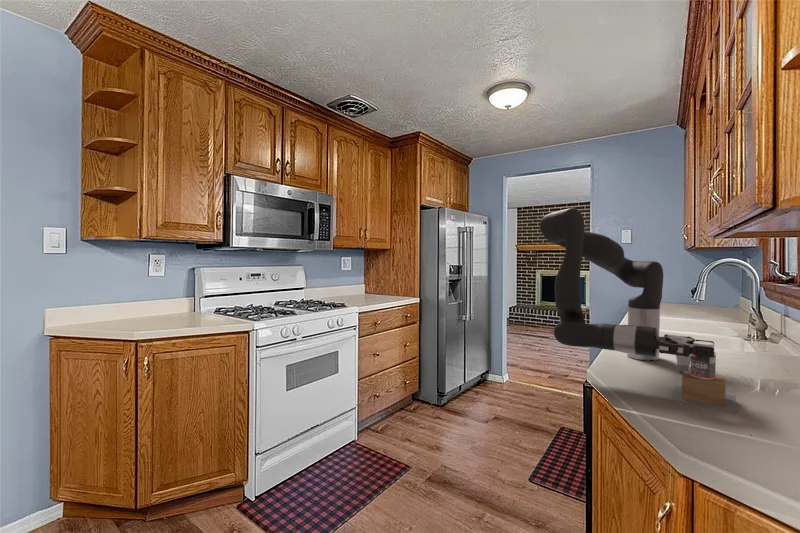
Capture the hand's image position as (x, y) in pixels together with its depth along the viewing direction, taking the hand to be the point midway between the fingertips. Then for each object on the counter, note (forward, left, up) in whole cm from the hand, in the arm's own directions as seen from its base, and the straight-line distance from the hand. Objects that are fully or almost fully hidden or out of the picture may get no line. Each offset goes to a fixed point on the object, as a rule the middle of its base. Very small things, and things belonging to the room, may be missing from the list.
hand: (714, 349), depth 92 cm
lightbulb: (-24, -7, -13) cm, 28 cm away
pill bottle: (0, -2, -7) cm, 8 cm away
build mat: (0, -2, -12) cm, 13 cm away
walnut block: (0, -2, -12) cm, 12 cm away
